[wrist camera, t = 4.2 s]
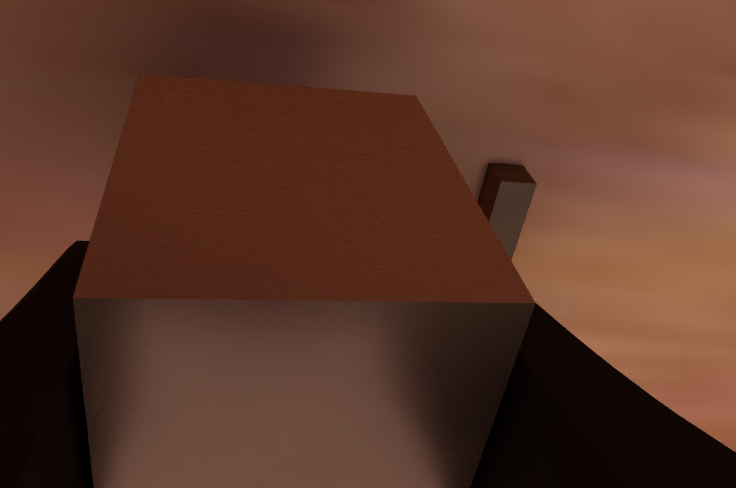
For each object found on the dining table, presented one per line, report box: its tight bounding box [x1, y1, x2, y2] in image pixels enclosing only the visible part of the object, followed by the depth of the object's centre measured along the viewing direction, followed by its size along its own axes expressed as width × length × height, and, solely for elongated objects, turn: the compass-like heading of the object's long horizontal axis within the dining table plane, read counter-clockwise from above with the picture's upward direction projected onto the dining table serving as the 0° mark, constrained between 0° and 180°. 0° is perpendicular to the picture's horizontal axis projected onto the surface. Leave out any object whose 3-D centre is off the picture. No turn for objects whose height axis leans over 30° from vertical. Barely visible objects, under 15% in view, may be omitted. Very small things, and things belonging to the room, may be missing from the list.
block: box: [73, 74, 535, 488], centre depth 9 cm, size 4×4×5 cm
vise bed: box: [478, 164, 537, 260], centre depth 21 cm, size 10×17×4 cm, turn 171°
